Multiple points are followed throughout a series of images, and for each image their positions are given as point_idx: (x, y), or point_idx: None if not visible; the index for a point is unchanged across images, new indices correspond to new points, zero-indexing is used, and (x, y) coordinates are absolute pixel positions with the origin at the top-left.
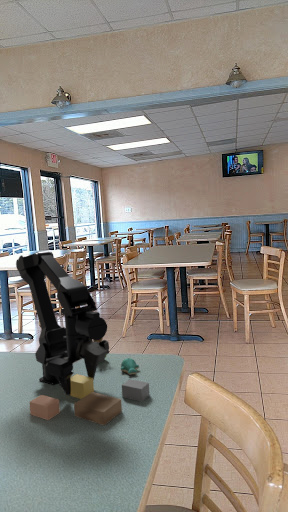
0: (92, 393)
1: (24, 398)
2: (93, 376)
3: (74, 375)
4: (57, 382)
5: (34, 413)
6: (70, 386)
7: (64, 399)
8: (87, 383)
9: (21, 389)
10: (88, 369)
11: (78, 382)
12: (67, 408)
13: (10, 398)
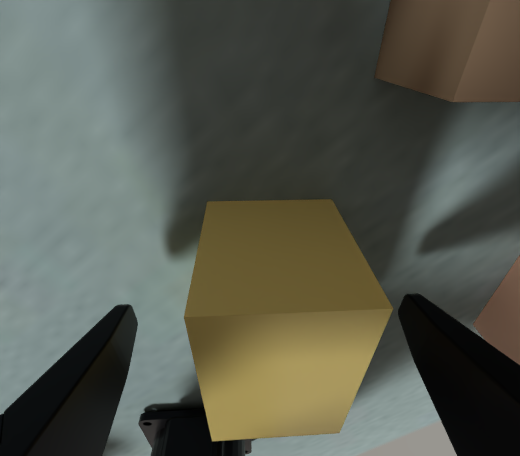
0: (516, 59)
1: (399, 403)
2: (96, 342)
3: (245, 437)
4: None
5: None
6: (473, 357)
7: None
8: (306, 289)
9: (334, 438)
10: (89, 449)
11: (368, 358)
12: (484, 215)
13: (409, 424)
